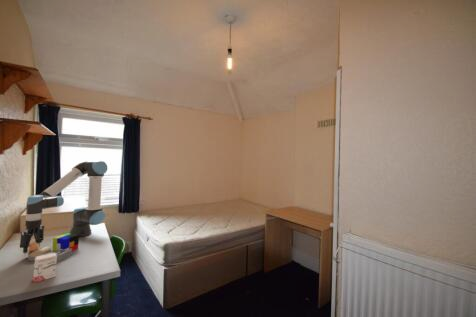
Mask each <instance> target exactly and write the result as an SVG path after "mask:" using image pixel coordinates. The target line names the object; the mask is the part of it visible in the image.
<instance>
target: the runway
mask: <svg viewBox="0 0 476 317" xmlns="http://www.w3.org/2000/svg"><path fill="white" fill-rule="evenodd" d="M50 253H56V254H57V263H58V262H59V263H60V262H61V261H62V260H64V259H65V260H66V258H68V257H70V256H72V255H73V251H72V249H69V250H61V251H52V249H51V247H49V246H44V247H42V248H39V250H37V251H35V252H32V253H31V254H30V255H29V257H28V258H27V261H34V262H35V257H37V256H41V255H46V254H50Z"/></svg>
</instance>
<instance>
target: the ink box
mask: <svg viewBox="0 0 476 317" xmlns="http://www.w3.org/2000/svg"><path fill="white" fill-rule="evenodd" d="M57 263H58V261H57V254H56V253H50V254H46V255H41V256H37V257H35V261H34V265H33V276H32V278H33V279H32V281H33V283H38V282H42V281H44V280H48V279H51V278H54V277H55V278H56V274H57V273H56V272H57Z"/></svg>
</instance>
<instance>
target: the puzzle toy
mask: <svg viewBox="0 0 476 317" xmlns="http://www.w3.org/2000/svg"><path fill="white" fill-rule="evenodd" d="M69 233H70V232H69ZM69 233H65V234H61V235H58V236H55V237H53V240H52V249H51V251H61V250H69V249H72V252H73V251H75V250H78V249H79V240H80V237H79V235H77V234H69Z"/></svg>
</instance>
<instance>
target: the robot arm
mask: <svg viewBox="0 0 476 317" xmlns="http://www.w3.org/2000/svg"><path fill="white" fill-rule="evenodd" d="M107 171H108V165H107V162H105V161H104V160H101V159H100V160H99V159H85V160H82V161H80V162H78V163H77V164H76V165H75V166H73V167H72V168H71V170H70V171H69V172H67V173H66V174H65V175H64V176H62V177H61V178H60V179H58V180H57V181H55V182H54V183H53V184H52V185H50V186H49V187H47V188H46V189H44V190H43V191H42V192H41V193H39V194H34V195H30V196H28V197H27V201H26V211H25V214H26V215H25V223H24V224H25V225H24V226H25V227H26V228H25V230H23V231H21V232H20V243H19V248H22V252H23V257H22V258H23V259H24V258H26V259H28V257H29V249H30V247H28V246H29V243H31V240H32V237H34V240H35V241H34V242H35V243H37V244H38V248H37V250H39V249H40V247H41V243H43V241H44V236H45V234H44V233H45V232H44V231H45V226H44V225H42V221H43V220H42V218H43V210H46V209H51V208H52V209H53V208H58V207H62V206H63V205H64V202H65V200H64V197H63V196H60V195H58V194H60V193H61V192H62V191H64V190H65V189H66V188H67V187H68V186H70V185H71V184H72V183H73V182H75V181H76V180H77V179H78V178H81V177H83V176H85V175H86V174H87V175H86V176H87V178H89V180H88V181H89V182H88V200H87V206H83V207H78V208H75V209H73V213H72V214H73V215H72V216H73V217H72V226H71V229H70V231H69V234H77V235H79V238H82V237H83V238H84V237H87V236H89V235H91V234H92V229H91V226H96V225H97V226H98V225H100V224H102V222H103V221H104V219H105V218H106V213H105V212H104V210H103V206H102V205H101V199H102V198H101V197H102V179H103V177H104V176H105V174H106V173H107ZM37 250H35V251H37Z"/></svg>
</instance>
